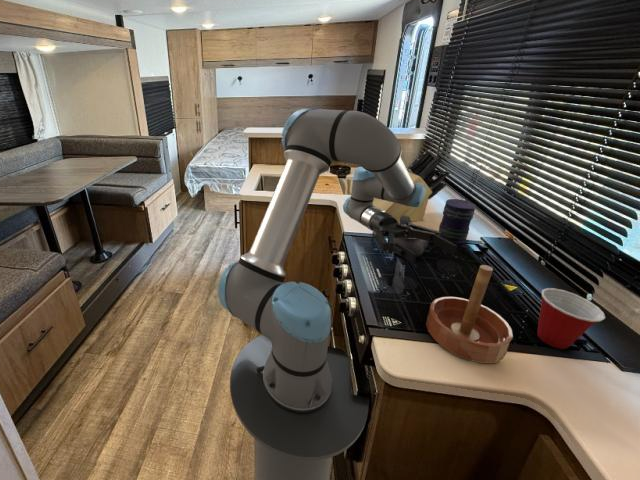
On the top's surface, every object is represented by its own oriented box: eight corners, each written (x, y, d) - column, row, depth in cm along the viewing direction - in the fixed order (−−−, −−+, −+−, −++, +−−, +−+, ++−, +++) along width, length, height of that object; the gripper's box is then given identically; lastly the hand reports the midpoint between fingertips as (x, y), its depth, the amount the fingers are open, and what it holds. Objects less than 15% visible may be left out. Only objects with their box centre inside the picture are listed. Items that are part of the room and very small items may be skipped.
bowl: (434, 355, 73) (440, 336, 71) (419, 308, 88) (423, 292, 85) (518, 373, 68) (527, 353, 66) (488, 320, 83) (494, 303, 81)
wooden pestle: (453, 341, 76) (476, 273, 68) (446, 323, 81) (466, 258, 73) (482, 346, 74) (508, 277, 66) (473, 328, 79) (496, 262, 72)
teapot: (437, 261, 109) (443, 237, 105) (391, 258, 112) (395, 234, 108) (418, 236, 126) (423, 214, 123) (378, 234, 129) (382, 212, 125)
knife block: (441, 218, 142) (457, 152, 130) (374, 227, 135) (385, 158, 123) (422, 208, 152) (436, 147, 140) (359, 217, 145) (368, 152, 133)
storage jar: (450, 244, 120) (460, 209, 114) (431, 233, 129) (439, 200, 123) (472, 241, 122) (482, 207, 116) (452, 230, 130) (460, 197, 125)
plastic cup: (592, 366, 69) (616, 325, 65) (529, 346, 75) (547, 307, 70) (576, 334, 78) (596, 296, 73) (521, 318, 83) (536, 282, 79)
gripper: (407, 226, 105) (466, 258, 86) (345, 238, 98) (394, 275, 79) (412, 206, 102) (473, 234, 83) (347, 216, 95) (399, 250, 77)
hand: (435, 254), depth 81 cm, fingers open, 13 cm apart
